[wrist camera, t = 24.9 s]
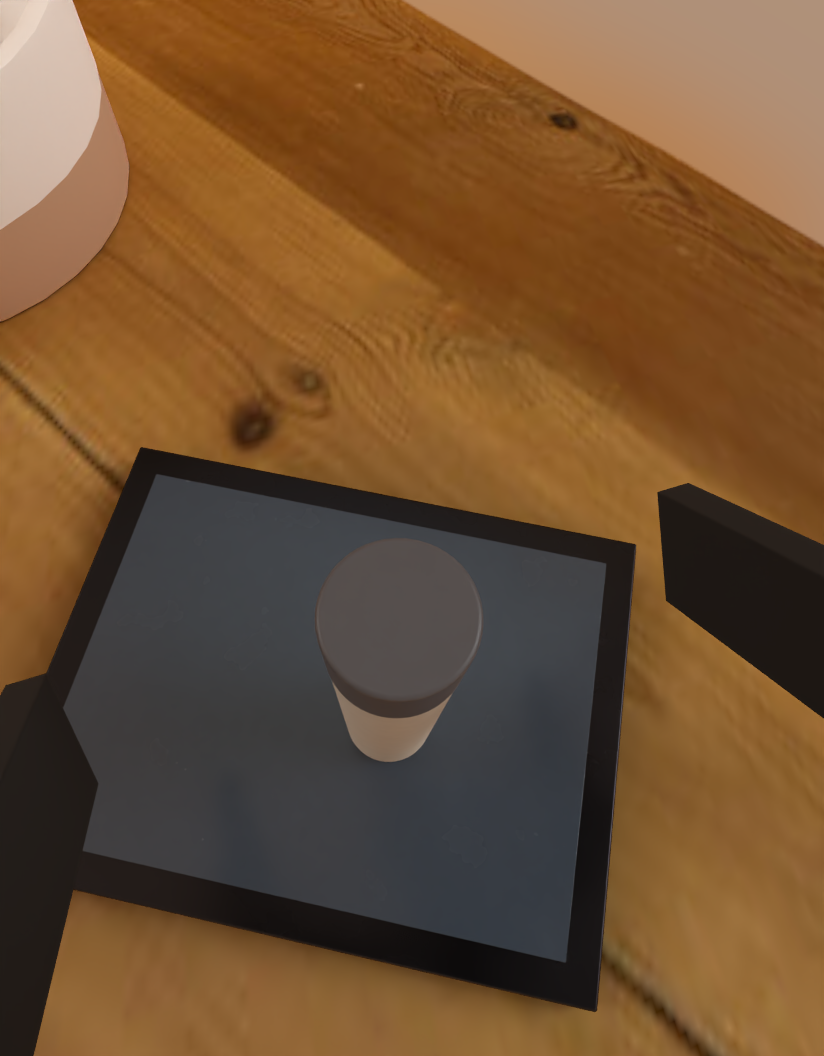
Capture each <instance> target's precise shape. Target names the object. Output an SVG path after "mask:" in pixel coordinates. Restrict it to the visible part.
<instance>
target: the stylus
mask: <svg viewBox="0 0 824 1056" xmlns="http://www.w3.org/2000/svg"><path fill="white" fill-rule="evenodd" d="M315 631H316V636H317V641H318V644H319V647H320V650H321V653H322V656H323V659H324V662H325V665H326V668H327V671H328V674H329V676H330V678H331V680H332V683H333V686H334V689H335V692H336V695H337V698H338V701H339V704H340V707H341V710H342V713H343V716H344V719H345V722H346V725H347V728H348V731H349V734H350V737H351V739H352V741H353V742H354V744H355V745H356V746H357V748H358V749H359V750H360V751H361V752H363V753H364V754H365V755H367V756H368V757H370V758H372V759H375V760H378V761H383V762H394V761H399V760H403V759H405V758H407V757H409V756H411V755H413V754H414V753H415V752H416V751H417V750H418V749H419V748H420V747H421V746H422V745H423V744H424V742H425V740H426V739H427V737H428V735H429V733H430V732H431V730H432V728H433V726H434V725H435V723H436V721H437V719H438V718H439V716H440V714H441V712H442V711H443V709H444V707H445V705H446V704H447V702H448V700H449V698H450V697H451V695H452V693H453V692H454V690H455V689H456V688H457V686H458V685H459V683H460V681H461V680H462V678H463V676H464V675H465V673H466V671H467V669H468V668H469V666H470V664H471V662H472V661H473V659H474V657H475V655H476V653H477V650H478V648H479V645H480V641H481V638H482V632H483V610H482V603H481V600H480V596H479V593H478V591H477V589H476V586H475V584H474V582H473V581H472V579H471V577H470V576H469V574H468V573H467V572H466V570H465V569H464V568H463V566H462V565H461V564H460V563H458V562H457V561H456V560H455V559H454V558H453V557H452V556H450V555H449V554H448V553H446V552H445V551H443V550H441V549H439V548H438V547H436V546H433V545H431V544H428V543H425V542H422V541H418V540H413V539H407V538H392V539H384V540H379V541H375V542H372V543H369V544H366V545H364V546H362V547H360V548H358V549H356V550H354V551H353V552H351V553H350V554H348V555H347V556H346V557H344V558H343V559H342V560H341V561H340V562H339V563H338V564H337V565H336V566H335V567H334V568H333V569H332V571H331V572H330V574H329V575H328V577H327V578H326V580H325V582H324V584H323V586H322V588H321V590H320V593H319V596H318V599H317V603H316V608H315Z"/></svg>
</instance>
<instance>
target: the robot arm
mask: <svg viewBox="0 0 824 1056" xmlns="http://www.w3.org/2000/svg"><path fill="white" fill-rule="evenodd" d="M657 493H658V505H659V518H660V530H661V543H662V555H663V568H664V580H665V593H666V601H667V602H669V603H670V604H671V605H673V606H674V607H675V608H677V609H678V610H679V611H681V612H682V613H683V614H685V615H686V616H687V617H689V618H690V619H691V620H693V621H694V622H695V623H697V624H698V625H699V626H701V627H702V628H703V629H705V630H706V631H707V632H709V633H710V634H712V635H713V636H714V637H716V638H717V639H718V640H720V641H721V642H722V643H724V644H725V645H726V646H728V647H729V648H730V649H732V650H733V651H734V652H736V653H737V654H738V655H740V656H741V657H742V658H744V659H745V660H746V661H748V662H749V663H750V664H752V665H753V666H754V667H756V668H757V669H758V670H760V671H761V672H762V673H764V674H765V675H766V676H768V677H769V678H770V679H772V680H773V681H774V682H776V683H777V684H778V685H780V686H781V687H782V688H784V689H785V690H786V691H788V692H789V693H790V694H792V695H793V696H794V697H796V698H797V699H798V700H800V701H801V702H802V703H804V704H805V705H806V706H808V707H809V708H810V709H812V710H813V711H814V712H816V713H817V714H818V715H820V716H821V717H823V718H824V545H822V544H820V543H818V542H816V541H814V540H811V539H809V538H807V537H805V536H803V535H801V534H798V533H796V532H794V531H792V530H790V529H787V528H785V527H783V526H781V525H779V524H777V523H774V522H772V521H770V520H768V519H766V518H764V517H761V516H759V515H757V514H755V513H753V512H751V511H748V510H746V509H744V508H742V507H740V506H737V505H735V504H733V503H731V502H729V501H727V500H724V499H722V498H720V497H718V496H716V495H714V494H711V493H709V492H707V491H705V490H703V489H701V488H698V487H696V486H694V485H692V484H690V483H687V484H683V485H680V486H677V487H673V488H670V489H666V490H663V491H660V492H657ZM98 784H99V783H98V781H97V779H96V777H95V775H94V773H93V771H92V769H91V766H90V764H89V762H88V760H87V758H86V756H85V754H84V752H83V749H82V747H81V745H80V743H79V741H78V739H77V737H76V735H75V732H74V730H73V728H72V726H71V724H70V722H69V720H68V718H67V715H66V713H65V711H64V709H63V707H62V705H61V703H60V701H59V699H58V696H57V694H56V692H55V690H54V688H53V686H52V684H51V682H50V679H49V677H48V675H47V673H46V674H43V675H39V676H36V677H33V678H29V679H26V680H23V681H19V682H16V683H12V684H9V685H6V686H5V688H4V690H3V692H2V693H1V695H0V1056H33V1055H34V1051H35V1047H36V1043H37V1039H38V1035H39V1030H40V1026H41V1022H42V1018H43V1014H44V1009H45V1005H46V1001H47V997H48V993H49V989H50V984H51V980H52V976H53V972H54V968H55V963H56V959H57V955H58V951H59V947H60V943H61V938H62V934H63V930H64V926H65V922H66V918H67V913H68V909H69V905H70V901H71V897H72V892H73V888H74V884H75V880H76V876H77V872H78V867H79V863H80V859H81V855H82V851H83V846H84V842H85V838H86V834H87V830H88V826H89V821H90V817H91V813H92V809H93V805H94V801H95V796H96V792H97V788H98Z"/></svg>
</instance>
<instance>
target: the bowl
mask: <svg viewBox="0 0 824 1056" xmlns="http://www.w3.org/2000/svg"><path fill="white" fill-rule="evenodd" d="M128 178H129V162H128V158H127V153H126V148H125V144H124V140H123V137H122V135H121V132H120V129H119V127H118V124H117V121H116V119H115V116H114V113H113V111H112V108H111V105H110V103H109V100H108V97H107V95H106V92H105V89H104V87H103V84H102V81H101V78H100V76H99V73H98V70H97V66H96V62H95V60H94V57H93V54H92V52H91V49H90V46H89V44H88V41H87V38H86V36H85V33H84V30H83V28H82V25H81V22H80V20H79V17H78V14H77V11H76V9H75V6H74V3H73V1H72V0H0V322H1V321H4V320H6V319H9V318H11V317H13V316H14V315H16V314H18V313H20V312H22V311H24V310H26V309H27V308H29V307H31V306H33V305H35V304H37V303H39V302H41V301H42V300H44V299H46V298H47V297H48V296H50V295H51V294H52V293H54V292H55V291H56V290H58V289H59V288H60V287H62V286H63V285H64V284H66V283H67V282H68V281H70V280H71V279H72V278H74V277H75V276H76V275H77V274H78V273H79V272H80V271H81V270H82V269H83V268H84V267H85V266H86V265H87V264H88V263H89V262H90V261H91V260H92V258H93V257H94V256H95V255H96V254H97V253H98V252H99V251H100V250H101V249H102V247H103V245H104V244H105V242H106V241H107V239H108V237H109V236H110V234H111V233H112V231H113V229H114V228H115V226H116V225H117V223H118V221H119V218H120V215H121V212H122V209H123V206H124V203H125V201H126V198H127V192H128Z"/></svg>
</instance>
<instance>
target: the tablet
mask: <svg viewBox="0 0 824 1056" xmlns="http://www.w3.org/2000/svg"><path fill="white" fill-rule="evenodd" d="M392 538H407V539H413V540H418V541H422V542H425V543H428V544H431V545H433V546H436V547H438V548H439V549H441V550H443V551H445V552H446V553H448V554H449V555H450V556H452V557H453V558H454V559H455V560H456V561H457V562H458V563H460V564H461V565H462V566H463V568H464V569H465V570H466V572H467V573H468V574H469V576H470V577H471V579H472V581H473V582H474V584H475V586H476V589H477V591H478V593H479V596H480V600H481V603H482V610H483V632H482V638H481V641H480V645H479V648H478V650H477V653H476V655H475V657H474V659H473V661H472V662H471V664H470V666H469V668H468V669H467V671H466V673H465V675H464V676H463V678H462V680H461V681H460V683H459V685H458V686H457V688H456V689H455V690H454V692H453V693H452V695H451V697H450V698H449V700H448V702H447V704H446V705H445V707H444V709H443V711H442V712H441V714H440V716H439V718H438V719H437V721H436V723H435V725H434V726H433V728H432V730H431V732H430V733H429V735H428V737H427V739H426V740H425V742H424V744H423V745H422V746H421V747H420V748H419V749H418V750H417V751H416V752H415V753H414V754H413V755H411V756H409V757H407V758H405V759H403V760H399V761H394V762H383V761H378V760H375V759H372V758H370V757H368V756H367V755H365V754H364V753H363V752H361V751H360V750H359V749H358V748H357V746H356V745H355V744H354V742H353V741H352V739H351V737H350V734H349V731H348V728H347V725H346V722H345V719H344V716H343V713H342V710H341V707H340V704H339V701H338V698H337V695H336V692H335V689H334V686H333V683H332V680H331V678H330V676H329V674H328V671H327V668H326V665H325V662H324V659H323V656H322V653H321V650H320V647H319V644H318V641H317V636H316V631H315V608H316V603H317V599H318V596H319V593H320V590H321V588H322V586H323V584H324V582H325V580H326V578H327V577H328V575H329V574H330V572H331V571H332V569H333V568H334V567H335V566H336V565H337V564H338V563H339V562H340V561H341V560H342V559H343V558H344V557H346V556H347V555H348V554H350V553H351V552H353V551H354V550H356V549H358V548H360V547H362V546H364V545H366V544H369V543H372V542H375V541H379V540H384V539H392ZM635 555H636V545H635V544H631V543H626V542H621V541H616V540H611V539H606V538H601V537H596V536H591V535H585V534H580V533H575V532H570V531H565V530H560V529H555V528H550V527H545V526H540V525H535V524H530V523H524V522H519V521H514V520H509V519H504V518H499V517H494V516H489V515H484V514H479V513H474V512H469V511H463V510H458V509H453V508H448V507H443V506H438V505H433V504H428V503H423V502H418V501H413V500H408V499H402V498H397V497H392V496H387V495H382V494H377V493H372V492H367V491H362V490H357V489H352V488H347V487H342V486H336V485H331V484H326V483H321V482H316V481H311V480H306V479H301V478H296V477H291V476H286V475H281V474H275V473H270V472H265V471H260V470H255V469H250V468H245V467H240V466H235V465H230V464H225V463H220V462H214V461H209V460H204V459H199V458H194V457H189V456H184V455H179V454H174V453H169V452H164V451H159V450H153V449H148V448H143V447H141V448H140V450H139V452H138V455H137V457H136V460H135V462H134V464H133V467H132V469H131V472H130V474H129V476H128V479H127V481H126V484H125V486H124V488H123V491H122V493H121V496H120V498H119V500H118V503H117V505H116V508H115V510H114V512H113V515H112V517H111V520H110V522H109V524H108V527H107V529H106V532H105V534H104V536H103V539H102V541H101V544H100V546H99V548H98V551H97V553H96V556H95V558H94V560H93V563H92V565H91V567H90V570H89V572H88V575H87V577H86V579H85V582H84V584H83V587H82V589H81V591H80V594H79V596H78V599H77V601H76V603H75V606H74V608H73V611H72V613H71V615H70V618H69V620H68V623H67V625H66V627H65V630H64V632H63V635H62V637H61V639H60V642H59V644H58V647H57V649H56V651H55V654H54V656H53V659H52V661H51V663H50V666H49V668H48V671H47V675H48V677H49V679H50V682H51V684H52V686H53V688H54V690H55V692H56V694H57V696H58V699H59V701H60V703H61V705H62V707H63V709H64V711H65V713H66V715H67V718H68V720H69V722H70V724H71V726H72V728H73V730H74V732H75V735H76V737H77V739H78V741H79V743H80V745H81V747H82V749H83V752H84V754H85V756H86V758H87V760H88V762H89V764H90V766H91V769H92V771H93V773H94V775H95V777H96V779H97V781H98V783H99V784H98V788H97V792H96V796H95V801H94V805H93V809H92V813H91V817H90V821H89V826H88V830H87V834H86V838H85V842H84V846H83V851H82V855H81V859H80V863H79V867H78V872H77V876H76V880H75V884H74V888H73V890H77V891H82V892H86V893H90V894H94V895H99V896H103V897H107V898H111V899H116V900H120V901H124V902H128V903H133V904H137V905H141V906H145V907H150V908H154V909H158V910H162V911H167V912H171V913H175V914H179V915H184V916H188V917H192V918H196V919H201V920H205V921H209V922H213V923H218V924H222V925H226V926H231V927H235V928H239V929H243V930H248V931H252V932H256V933H260V934H265V935H269V936H273V937H277V938H282V939H286V940H290V941H294V942H299V943H303V944H307V945H311V946H316V947H320V948H324V949H328V950H333V951H337V952H341V953H345V954H350V955H354V956H358V957H362V958H367V959H371V960H375V961H379V962H384V963H388V964H392V965H396V966H401V967H405V968H409V969H413V970H418V971H422V972H426V973H431V974H435V975H439V976H443V977H448V978H452V979H456V980H460V981H465V982H469V983H473V984H477V985H482V986H486V987H490V988H494V989H499V990H503V991H507V992H511V993H516V994H520V995H524V996H528V997H533V998H537V999H541V1000H545V1001H550V1002H554V1003H558V1004H562V1005H567V1006H571V1007H575V1008H579V1009H584V1010H588V1011H592V1012H596V1011H597V1005H598V993H599V981H600V970H601V958H602V946H603V934H604V922H605V910H606V899H607V887H608V875H609V863H610V851H611V839H612V828H613V816H614V804H615V792H616V780H617V768H618V757H619V745H620V733H621V721H622V709H623V697H624V686H625V674H626V662H627V650H628V638H629V626H630V615H631V603H632V591H633V579H634V567H635Z"/></svg>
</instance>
